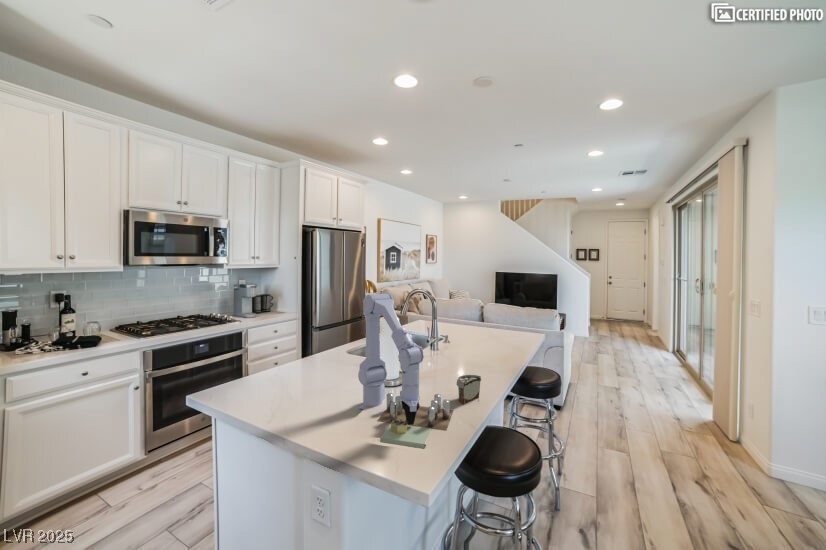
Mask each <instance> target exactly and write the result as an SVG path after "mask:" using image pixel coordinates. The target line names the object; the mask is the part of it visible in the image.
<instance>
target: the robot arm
mask: <svg viewBox="0 0 826 550" xmlns="http://www.w3.org/2000/svg"><path fill="white" fill-rule="evenodd" d="M362 307H363V308H362V311H363V316H364V317H365V358H364V359H363V361H362V362H361V363H360V364H359V370H358V377H357V378H358V381H359V382H360V384H361V385H362V389H363V390H362V393H363V394H362V404H361V405H360V406H359V407H358V409H359V410H365V408H367V407H371V408H372V407H378V406H380V405H382V404H383V401H384V400H385V392H386V391H385V388H386V387H385V383H384V382H385V381H386V379H387V376H388V372H387V367H386V361H384V360H383V359H381V355H380V354H381V352H380V351H381V350H380V347H381V345H380V344H381V343H380V340H381V339H380V317H382V316H383V318H384V320H385V322H386V324H387V325H388V327H389V328H390V330H391V331H392V332H391V338H392V341H393V343H394V345H395V347H396V349H397V351H398V355H397V357H398V362H399V365H400V367H399V368H400V370H401V391H402V395H401V396H400V395H397V396H398V399H399V400H402V406H403V409H404V411H405V416H406V421H408V425H413V424H414V421H415V416H416V413H417V410H418V409H419V406H421V405H420V400H421V399H420V364H421V363H422V362H423V360H424V352H423V350H422V347H421V346H420V345H418V344H417V343H415V342H414V340H413V339H412V337H411V335H410V333H409V331H408V329H407V328H406V327H402V325H401V322H400V320H399V317H398V315H397V313H396V311H395V300H394V298H393V296H392V294H391V293H389V292H387V293H379V294H378V293H377V294H376V293H374V294H370V293H368V294H366V295H365V296H364V298H363V300H362Z"/></svg>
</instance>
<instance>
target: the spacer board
mask: <svg viewBox="0 0 826 550" xmlns="http://www.w3.org/2000/svg"><path fill="white" fill-rule="evenodd" d="M428 407H429V406H423V405H420V406H419V409H418V410H417V413H416V416H415V421H414V424H413V425H409V426H416V427H423V428H430V429H431V430H437V431H447V430H448V427H449V424H450V422H451V418H452V415H453V413H454V409H449V419H443V418H442V411H443V408H441V412H440V413H438V419H437V420H435V426H434V427H428V426H427V416H428ZM401 418H402V419H404V420H406V416H405V411H404V409H402V415H397V419H401ZM376 422H378V423H379V422H380V423H386V424H387V423H388V424H390V423H392V422H391V421H390V412H387V408H386V409H385V410H384V411H383V412H382V414H381V415H380V416H379V417H378V419H377V420H376Z"/></svg>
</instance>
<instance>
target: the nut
mask: <svg viewBox="0 0 826 550" xmlns="http://www.w3.org/2000/svg"><path fill="white" fill-rule="evenodd" d="M407 430H408V421H406V420H404V419H402V418H401V419H394V420H393V421H392V423H391V432H393V433H395V434H403V433H406V432H407Z"/></svg>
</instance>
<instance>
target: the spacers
mask: <svg viewBox="0 0 826 550" xmlns="http://www.w3.org/2000/svg"><path fill="white" fill-rule="evenodd" d="M401 395H402V390H400V391H399V395H397V396H395V401H394V394H393V393H391V392H390V393H389V392H388V393H386V409H387V412H390V421H391V422H392V421H393V420H394V419H397V415H402V409H403V406H402V400H399V399H398V396H401ZM441 400H442V395H441V394H439V393H435V394H434V395H433V399H432V400H431V401H430V406H427V407H428V416H427V426H428V427H434V426H435V420H437V419H438V413H440V412H441V409H443V411H442V418H443V419H449V410H450V404H451V403H450V400H449V399H443V400H442V402H441Z"/></svg>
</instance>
